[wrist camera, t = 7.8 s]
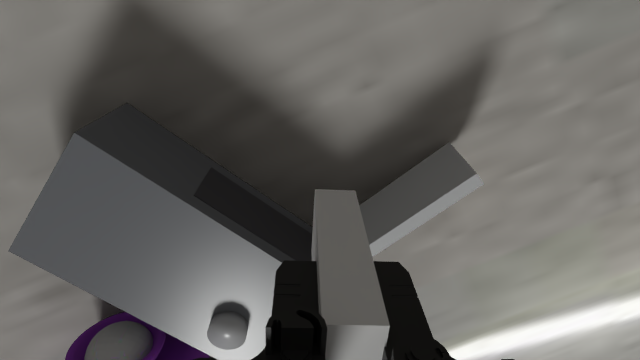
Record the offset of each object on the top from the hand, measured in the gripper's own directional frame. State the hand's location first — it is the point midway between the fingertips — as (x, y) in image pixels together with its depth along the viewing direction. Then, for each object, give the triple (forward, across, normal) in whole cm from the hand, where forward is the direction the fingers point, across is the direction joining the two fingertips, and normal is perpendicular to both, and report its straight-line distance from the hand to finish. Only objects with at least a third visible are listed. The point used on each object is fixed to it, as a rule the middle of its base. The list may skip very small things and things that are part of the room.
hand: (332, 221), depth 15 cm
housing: (+12, -8, -8) cm, 17 cm away
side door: (+11, +5, -5) cm, 13 cm away
